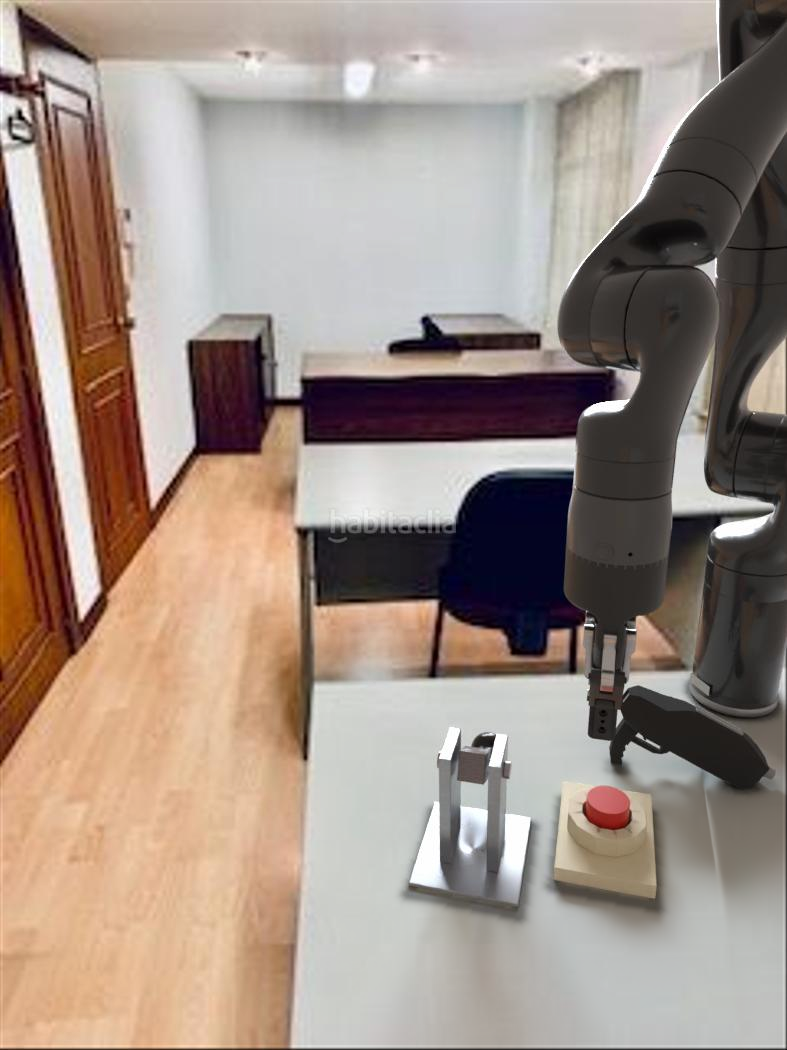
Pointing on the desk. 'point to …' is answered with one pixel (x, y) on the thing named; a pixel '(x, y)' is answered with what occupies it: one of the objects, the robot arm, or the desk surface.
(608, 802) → the button
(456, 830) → the lever bracket
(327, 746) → the desk surface
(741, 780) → the gun
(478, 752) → the press lever
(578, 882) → the button block
